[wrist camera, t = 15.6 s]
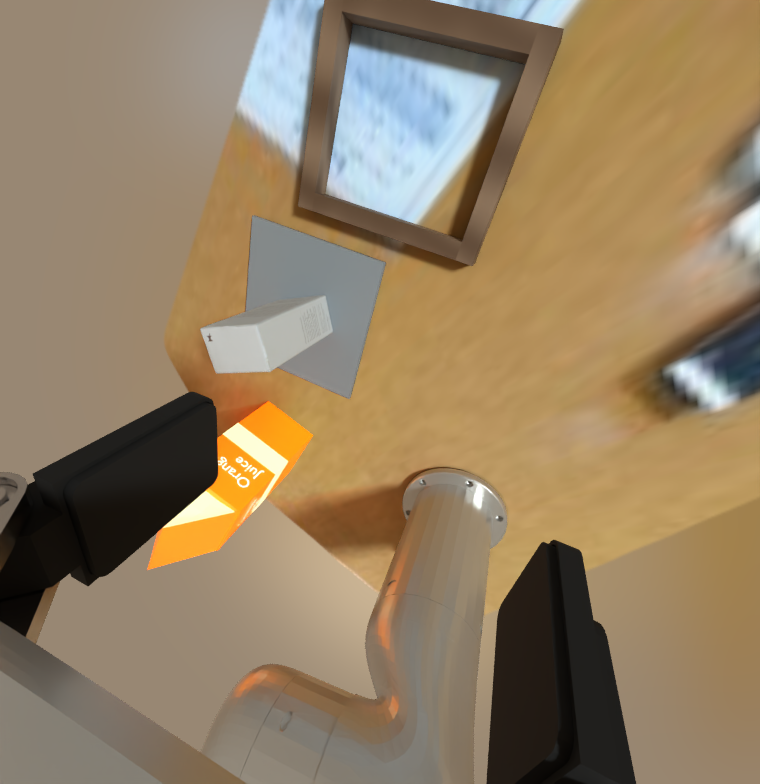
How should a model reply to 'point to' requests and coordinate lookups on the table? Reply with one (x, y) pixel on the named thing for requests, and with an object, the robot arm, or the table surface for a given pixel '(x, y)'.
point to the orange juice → (234, 484)
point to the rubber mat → (314, 278)
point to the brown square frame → (442, 26)
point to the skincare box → (267, 334)
